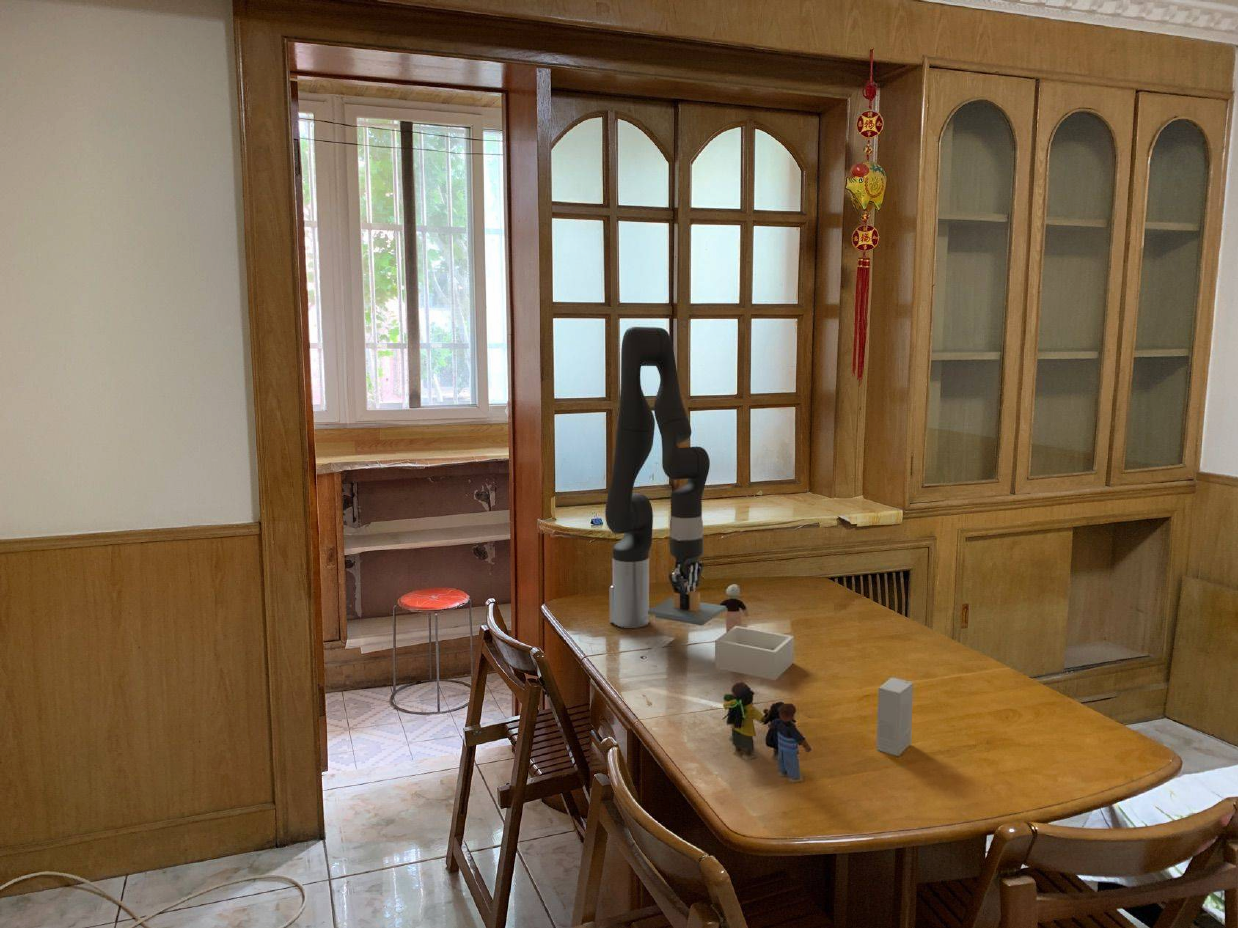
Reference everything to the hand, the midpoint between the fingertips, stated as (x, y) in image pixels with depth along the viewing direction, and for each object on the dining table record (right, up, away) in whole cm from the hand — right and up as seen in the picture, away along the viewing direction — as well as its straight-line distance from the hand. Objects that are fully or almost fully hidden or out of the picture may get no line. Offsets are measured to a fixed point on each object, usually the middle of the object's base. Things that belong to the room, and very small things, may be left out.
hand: (686, 608), depth 205 cm
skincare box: (+34, -18, -43) cm, 58 cm away
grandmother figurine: (+12, -9, +15) cm, 21 cm away
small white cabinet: (+14, -12, -7) cm, 20 cm away
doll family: (+10, -19, -48) cm, 52 cm away
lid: (0, -2, 0) cm, 2 cm away
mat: (0, -11, +2) cm, 11 cm away
